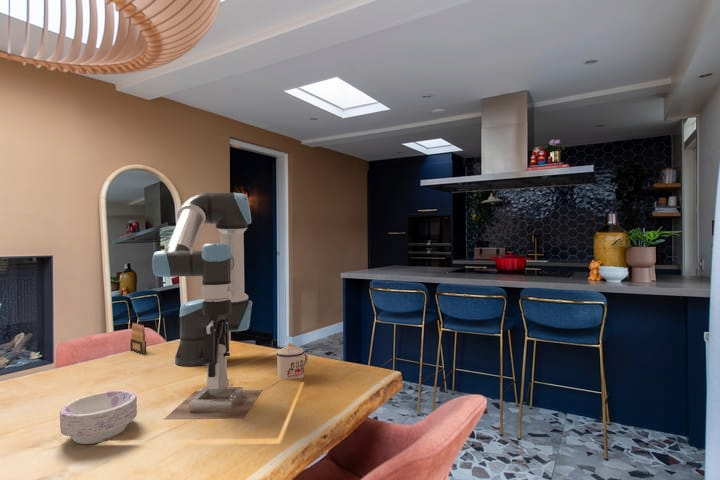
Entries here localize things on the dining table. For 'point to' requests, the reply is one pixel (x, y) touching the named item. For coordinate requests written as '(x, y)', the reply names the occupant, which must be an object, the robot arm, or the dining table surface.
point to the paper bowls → (98, 416)
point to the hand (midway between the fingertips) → (217, 384)
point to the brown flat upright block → (138, 339)
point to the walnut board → (236, 413)
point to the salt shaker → (220, 373)
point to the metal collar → (203, 404)
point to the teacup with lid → (291, 362)
